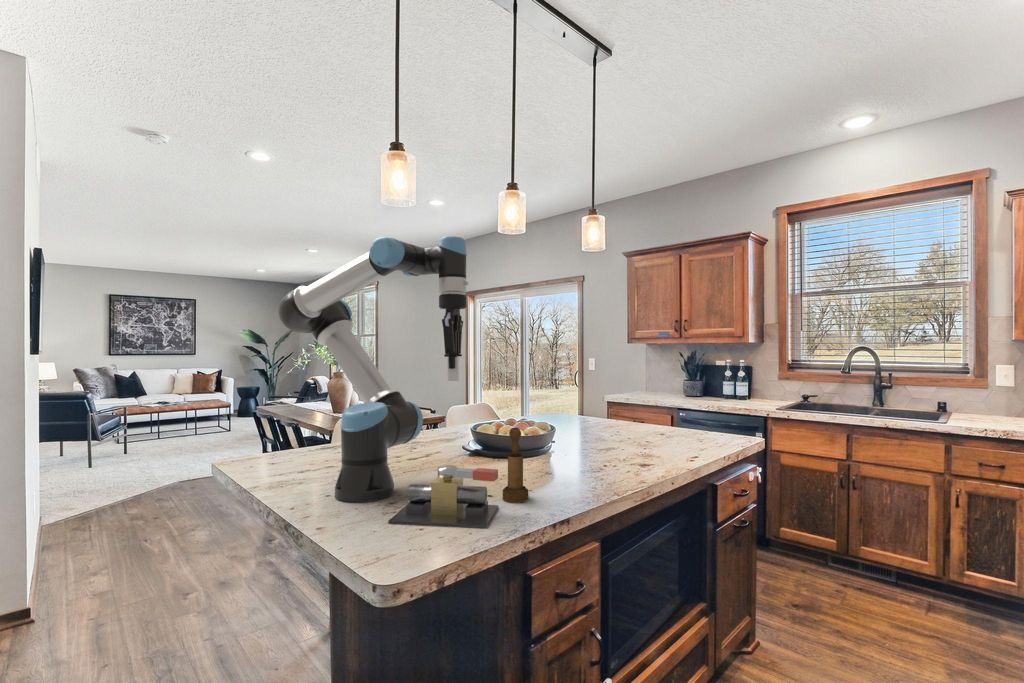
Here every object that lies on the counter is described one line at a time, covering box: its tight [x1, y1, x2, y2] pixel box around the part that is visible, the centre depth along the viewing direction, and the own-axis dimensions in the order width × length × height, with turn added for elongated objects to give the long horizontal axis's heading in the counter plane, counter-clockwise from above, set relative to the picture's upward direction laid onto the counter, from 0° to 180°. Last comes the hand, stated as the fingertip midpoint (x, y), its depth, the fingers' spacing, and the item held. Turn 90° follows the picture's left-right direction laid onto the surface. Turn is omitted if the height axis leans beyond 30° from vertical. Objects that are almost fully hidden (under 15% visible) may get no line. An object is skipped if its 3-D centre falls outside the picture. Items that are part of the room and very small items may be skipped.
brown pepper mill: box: [502, 427, 529, 504], centre depth 129 cm, size 7×6×18 cm
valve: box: [387, 476, 499, 529], centre depth 117 cm, size 22×14×8 cm, turn 81°
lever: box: [437, 464, 499, 482], centre depth 117 cm, size 14×4×2 cm, turn 72°
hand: (453, 380), depth 139 cm, fingers closed
